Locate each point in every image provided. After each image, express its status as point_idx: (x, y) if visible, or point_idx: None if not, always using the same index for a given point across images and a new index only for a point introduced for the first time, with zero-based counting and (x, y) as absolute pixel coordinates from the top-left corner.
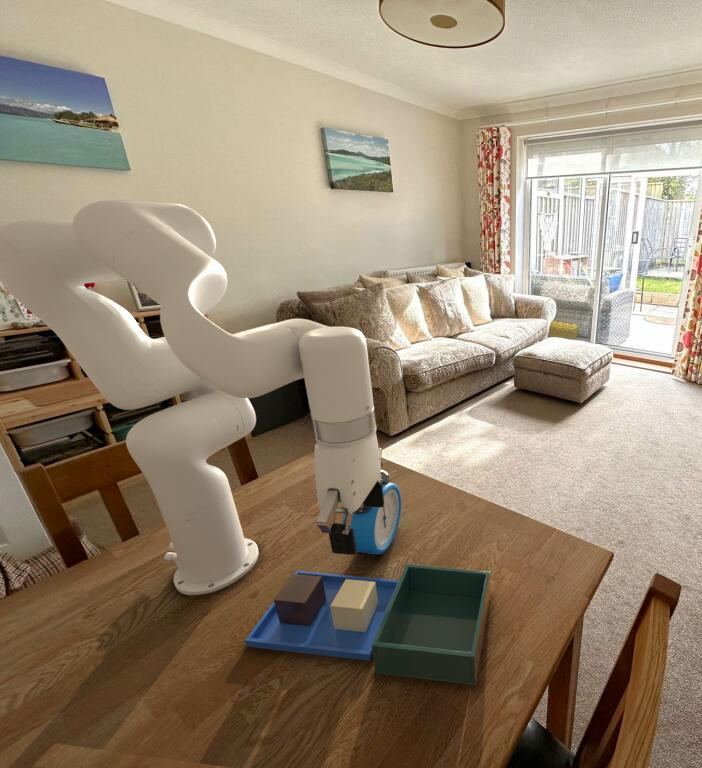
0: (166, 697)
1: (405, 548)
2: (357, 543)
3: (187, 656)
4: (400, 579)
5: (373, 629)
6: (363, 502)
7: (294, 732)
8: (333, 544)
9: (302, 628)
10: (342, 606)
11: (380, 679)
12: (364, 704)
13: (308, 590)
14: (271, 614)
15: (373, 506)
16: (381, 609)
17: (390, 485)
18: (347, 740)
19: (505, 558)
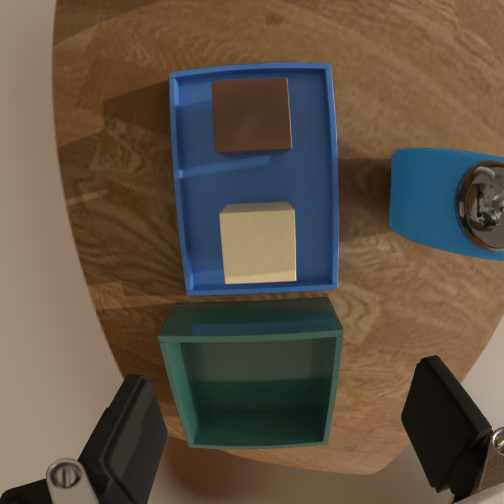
0: (103, 41)
1: (420, 251)
2: (395, 191)
3: (154, 13)
4: (301, 334)
5: None
6: (426, 372)
7: (93, 232)
8: (95, 428)
9: None
10: (222, 241)
11: None
12: (141, 302)
13: (248, 140)
14: (232, 73)
15: (408, 395)
16: None
17: None
18: (105, 298)
19: (389, 404)
